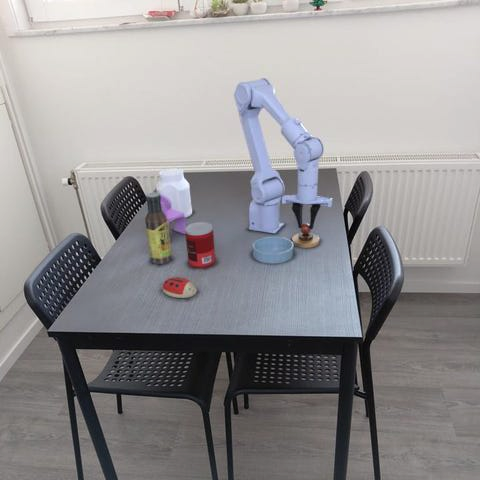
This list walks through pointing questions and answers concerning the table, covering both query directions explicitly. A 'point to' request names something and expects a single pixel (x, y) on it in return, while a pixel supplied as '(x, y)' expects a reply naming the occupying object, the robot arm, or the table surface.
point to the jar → (175, 190)
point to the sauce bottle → (157, 230)
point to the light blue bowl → (273, 250)
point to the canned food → (200, 245)
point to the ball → (305, 228)
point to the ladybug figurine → (179, 288)
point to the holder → (305, 240)
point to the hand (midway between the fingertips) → (306, 227)
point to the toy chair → (173, 214)
